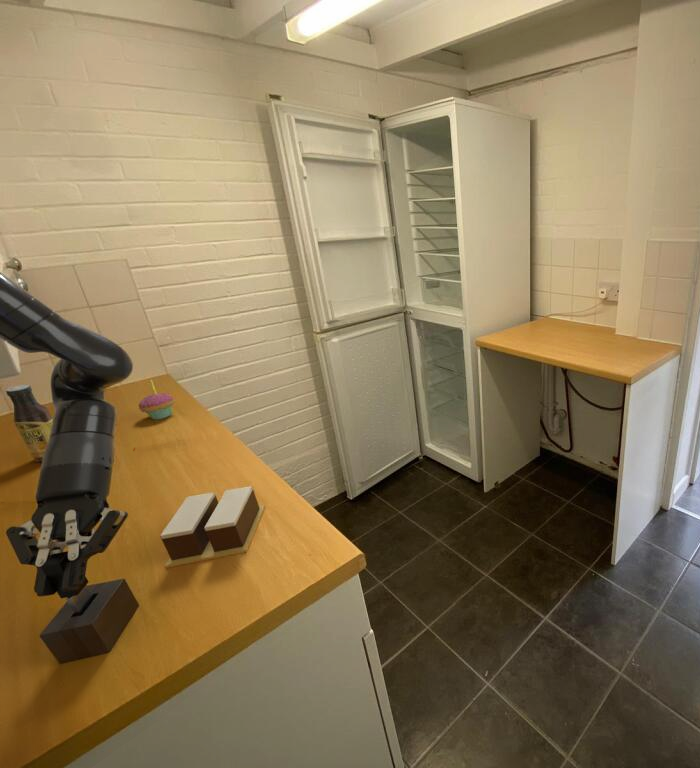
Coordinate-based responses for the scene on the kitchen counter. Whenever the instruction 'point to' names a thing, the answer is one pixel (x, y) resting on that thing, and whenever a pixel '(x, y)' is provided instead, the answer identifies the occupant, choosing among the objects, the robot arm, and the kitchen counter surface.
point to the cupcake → (157, 404)
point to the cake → (212, 526)
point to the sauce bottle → (31, 420)
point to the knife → (54, 573)
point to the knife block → (91, 623)
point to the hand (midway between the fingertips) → (58, 592)
